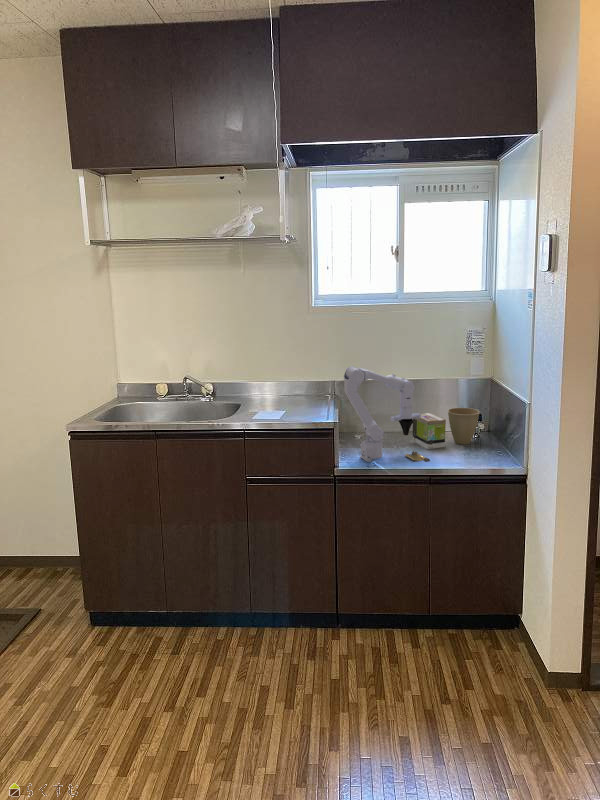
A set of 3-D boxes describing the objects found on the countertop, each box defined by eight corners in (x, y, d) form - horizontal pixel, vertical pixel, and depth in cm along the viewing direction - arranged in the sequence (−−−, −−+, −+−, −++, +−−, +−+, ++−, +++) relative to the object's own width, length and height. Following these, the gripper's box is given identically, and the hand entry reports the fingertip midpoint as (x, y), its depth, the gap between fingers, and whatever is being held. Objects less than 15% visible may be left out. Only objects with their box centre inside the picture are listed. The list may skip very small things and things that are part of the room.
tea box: (445, 449, 289) (446, 419, 286) (427, 451, 286) (427, 421, 283) (429, 440, 303) (430, 412, 300) (411, 443, 300) (412, 414, 297)
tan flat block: (413, 460, 269) (414, 456, 268) (404, 454, 276) (405, 451, 276) (426, 462, 271) (427, 458, 271) (417, 456, 279) (418, 452, 279)
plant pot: (477, 447, 289) (479, 415, 286) (445, 445, 294) (446, 414, 290) (478, 439, 303) (480, 408, 299) (448, 437, 307) (449, 406, 304)
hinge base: (425, 464, 269) (425, 458, 268) (411, 456, 280) (411, 451, 279) (443, 461, 272) (443, 456, 271) (429, 453, 283) (429, 448, 282)
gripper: (396, 409, 270) (395, 438, 273) (424, 406, 275) (424, 435, 278) (388, 406, 277) (388, 434, 280) (416, 403, 281) (416, 431, 285)
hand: (405, 434), depth 279 cm, fingers closed
